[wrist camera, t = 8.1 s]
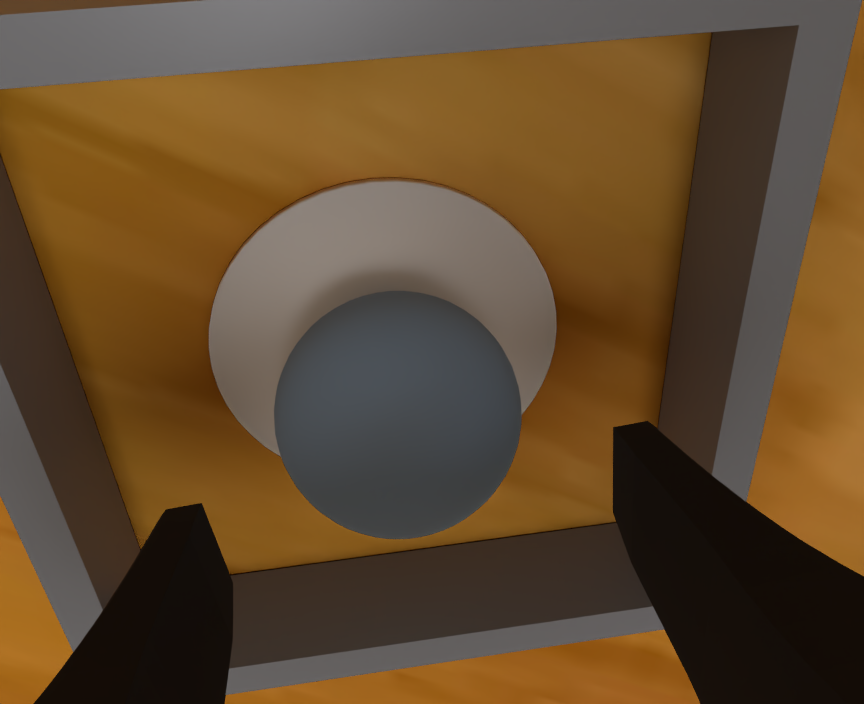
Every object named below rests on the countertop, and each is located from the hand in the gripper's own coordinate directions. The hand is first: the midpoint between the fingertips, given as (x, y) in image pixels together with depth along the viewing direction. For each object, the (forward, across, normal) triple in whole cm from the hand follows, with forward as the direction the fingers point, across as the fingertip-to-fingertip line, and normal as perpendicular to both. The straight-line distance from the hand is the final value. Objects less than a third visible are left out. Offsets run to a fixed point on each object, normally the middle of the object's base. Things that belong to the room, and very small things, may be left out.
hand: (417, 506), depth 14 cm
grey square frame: (+6, 0, 0) cm, 6 cm away
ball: (+3, 0, 0) cm, 3 cm away
